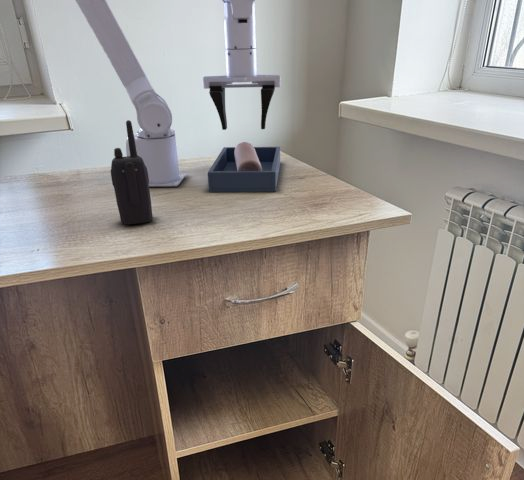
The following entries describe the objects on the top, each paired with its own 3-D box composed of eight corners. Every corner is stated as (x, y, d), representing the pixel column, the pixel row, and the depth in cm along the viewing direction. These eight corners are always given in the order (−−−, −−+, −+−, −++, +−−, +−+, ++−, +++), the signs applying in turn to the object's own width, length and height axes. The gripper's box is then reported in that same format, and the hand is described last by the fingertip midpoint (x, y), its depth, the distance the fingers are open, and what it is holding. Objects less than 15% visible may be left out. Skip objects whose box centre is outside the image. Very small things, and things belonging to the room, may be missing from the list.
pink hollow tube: (263, 160, 93) (256, 142, 108) (238, 159, 92) (234, 140, 107) (261, 186, 95) (254, 164, 110) (237, 184, 95) (233, 163, 110)
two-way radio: (153, 217, 82) (138, 118, 74) (157, 225, 79) (142, 122, 70) (119, 221, 81) (100, 120, 73) (121, 230, 77) (102, 125, 69)
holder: (209, 192, 94) (207, 172, 92) (224, 164, 113) (223, 147, 111) (275, 191, 93) (275, 171, 91) (280, 163, 112) (280, 146, 110)
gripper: (198, 50, 88) (204, 132, 96) (279, 48, 87) (279, 131, 95) (204, 49, 94) (209, 126, 102) (280, 47, 93) (280, 125, 101)
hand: (243, 128), depth 99 cm, fingers open, 7 cm apart
